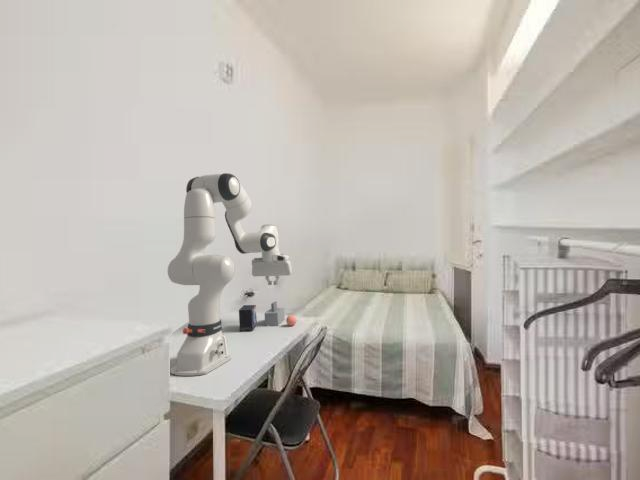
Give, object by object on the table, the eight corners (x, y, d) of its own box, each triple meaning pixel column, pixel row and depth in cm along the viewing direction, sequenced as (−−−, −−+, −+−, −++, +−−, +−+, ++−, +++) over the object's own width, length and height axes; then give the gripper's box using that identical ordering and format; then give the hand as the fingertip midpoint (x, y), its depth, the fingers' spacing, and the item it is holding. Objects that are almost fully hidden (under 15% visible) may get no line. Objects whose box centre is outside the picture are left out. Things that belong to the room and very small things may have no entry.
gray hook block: (278, 325, 178) (276, 305, 178) (265, 325, 180) (264, 305, 179) (284, 319, 189) (283, 300, 189) (272, 319, 190) (271, 300, 190)
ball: (295, 326, 174) (294, 316, 174) (285, 326, 175) (284, 316, 175) (297, 324, 179) (297, 314, 179) (288, 324, 180) (287, 314, 180)
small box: (253, 331, 171) (251, 309, 171) (239, 332, 171) (238, 310, 171) (257, 325, 182) (256, 304, 181) (244, 325, 182) (243, 305, 181)
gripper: (249, 258, 182) (250, 286, 182) (288, 257, 178) (290, 285, 178) (253, 257, 188) (255, 284, 189) (292, 255, 184) (293, 283, 185)
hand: (272, 284), depth 184 cm, fingers closed
